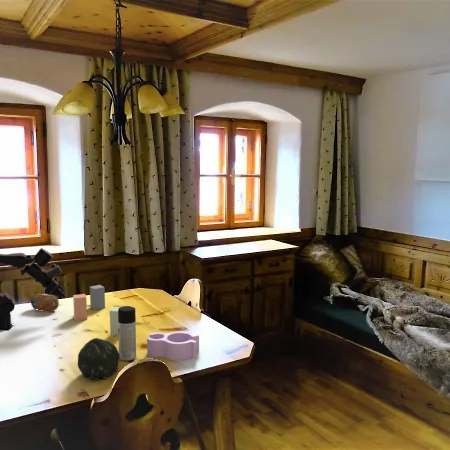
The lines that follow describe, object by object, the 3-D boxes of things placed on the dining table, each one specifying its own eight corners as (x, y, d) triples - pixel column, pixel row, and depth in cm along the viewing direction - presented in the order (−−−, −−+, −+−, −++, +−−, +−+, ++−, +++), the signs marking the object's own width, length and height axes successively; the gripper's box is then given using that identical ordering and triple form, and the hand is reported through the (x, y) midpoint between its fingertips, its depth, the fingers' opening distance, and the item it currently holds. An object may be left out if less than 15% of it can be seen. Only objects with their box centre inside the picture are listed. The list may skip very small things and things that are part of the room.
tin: (30, 309, 237) (30, 293, 235) (35, 307, 240) (34, 292, 238) (56, 312, 232) (55, 296, 231) (60, 310, 235) (59, 294, 234)
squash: (120, 347, 179) (93, 323, 172) (132, 364, 166) (103, 339, 159) (92, 376, 175) (64, 353, 169) (102, 395, 162) (71, 372, 156)
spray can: (128, 352, 187) (127, 304, 184) (140, 357, 183) (139, 308, 180) (115, 358, 182) (113, 308, 179) (126, 363, 177) (125, 312, 174)
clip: (144, 359, 181) (143, 342, 180) (152, 346, 194) (152, 330, 193) (194, 361, 179) (194, 344, 178) (200, 348, 191) (200, 332, 190)
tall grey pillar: (105, 307, 240) (104, 287, 238) (94, 310, 237) (94, 289, 235) (100, 305, 244) (99, 284, 243) (90, 307, 241) (89, 286, 239)
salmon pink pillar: (87, 319, 224) (86, 297, 222) (75, 320, 221) (74, 298, 220) (85, 315, 229) (84, 293, 227) (74, 317, 226) (73, 295, 225)
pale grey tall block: (122, 335, 204) (122, 311, 202) (110, 335, 204) (109, 310, 203) (126, 330, 209) (126, 307, 208) (114, 330, 210) (113, 306, 208)
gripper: (51, 264, 207) (78, 286, 213) (49, 256, 224) (74, 276, 230) (33, 283, 205) (61, 304, 211) (32, 273, 222) (58, 293, 228)
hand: (64, 294), depth 220 cm, fingers open, 9 cm apart
